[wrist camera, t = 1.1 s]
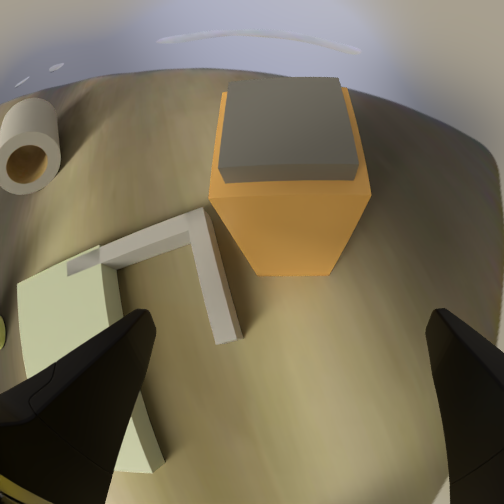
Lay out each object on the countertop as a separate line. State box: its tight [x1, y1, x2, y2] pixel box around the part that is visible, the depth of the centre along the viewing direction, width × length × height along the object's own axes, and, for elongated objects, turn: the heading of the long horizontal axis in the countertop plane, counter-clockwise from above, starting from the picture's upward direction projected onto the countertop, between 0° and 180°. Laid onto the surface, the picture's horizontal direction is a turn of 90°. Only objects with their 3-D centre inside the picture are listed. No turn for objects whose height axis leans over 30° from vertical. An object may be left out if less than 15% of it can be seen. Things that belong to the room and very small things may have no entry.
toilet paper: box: [0, 98, 61, 195], centre depth 26 cm, size 10×10×10 cm
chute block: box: [208, 77, 371, 276], centre depth 15 cm, size 6×6×14 cm
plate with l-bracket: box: [17, 207, 244, 473], centre depth 20 cm, size 20×24×2 cm
